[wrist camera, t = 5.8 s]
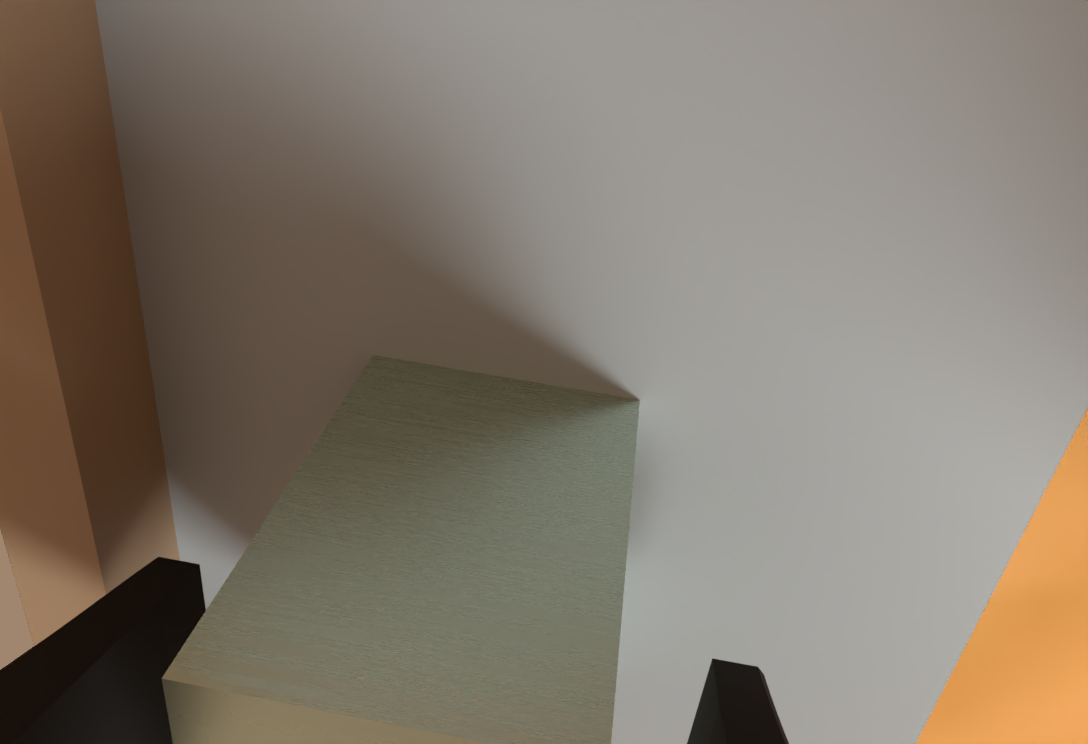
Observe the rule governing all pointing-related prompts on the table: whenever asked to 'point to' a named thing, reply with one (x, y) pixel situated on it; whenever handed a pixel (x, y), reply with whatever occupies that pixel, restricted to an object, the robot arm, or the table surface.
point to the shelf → (565, 295)
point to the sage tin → (427, 574)
